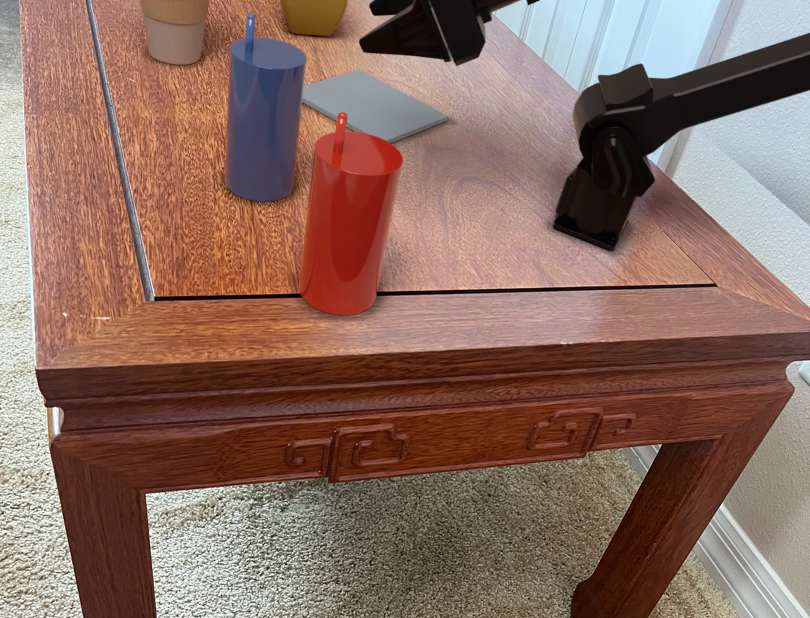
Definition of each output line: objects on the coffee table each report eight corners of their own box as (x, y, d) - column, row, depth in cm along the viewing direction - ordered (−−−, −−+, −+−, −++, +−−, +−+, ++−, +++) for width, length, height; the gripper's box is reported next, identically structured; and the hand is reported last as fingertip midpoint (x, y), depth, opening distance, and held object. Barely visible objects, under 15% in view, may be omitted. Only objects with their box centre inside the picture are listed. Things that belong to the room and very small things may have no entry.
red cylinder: (366, 268, 70) (398, 96, 60) (384, 314, 66) (420, 137, 56) (292, 267, 68) (312, 90, 58) (305, 316, 64) (328, 133, 54)
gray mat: (447, 120, 95) (448, 115, 95) (382, 146, 87) (382, 141, 87) (358, 74, 101) (358, 69, 100) (288, 94, 93) (289, 89, 92)
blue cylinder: (294, 171, 80) (310, 9, 70) (291, 205, 76) (309, 37, 65) (228, 162, 79) (234, -3, 69) (221, 196, 75) (227, 24, 64)
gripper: (503, -176, 69) (337, -94, 74) (511, -132, 55) (306, -35, 60) (543, -42, 75) (388, 24, 80) (559, 27, 61) (371, 103, 66)
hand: (366, 27), depth 71 cm, fingers open, 9 cm apart
